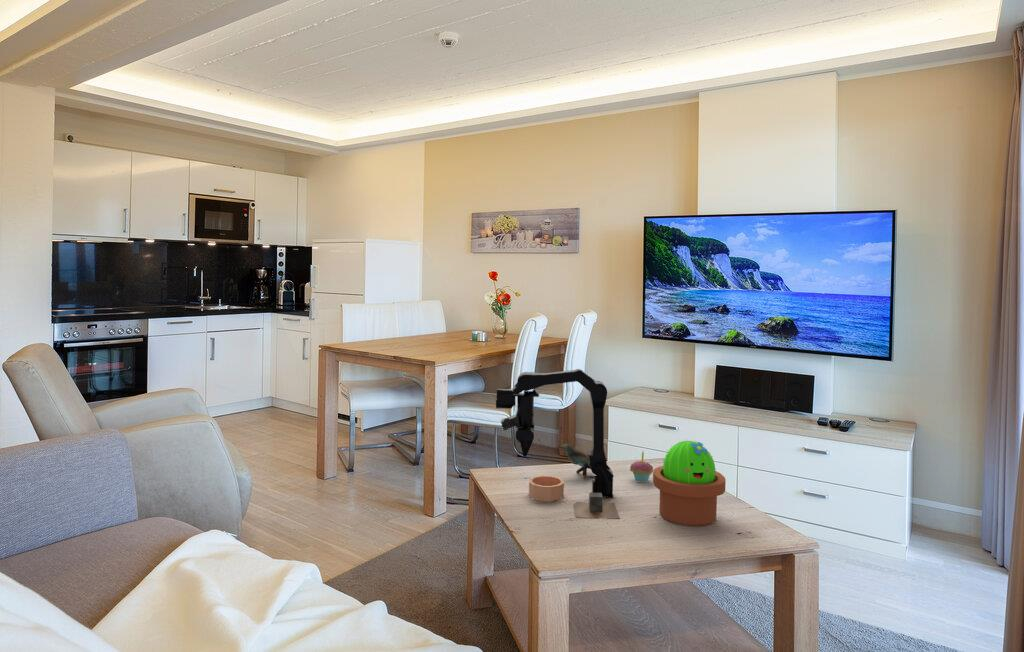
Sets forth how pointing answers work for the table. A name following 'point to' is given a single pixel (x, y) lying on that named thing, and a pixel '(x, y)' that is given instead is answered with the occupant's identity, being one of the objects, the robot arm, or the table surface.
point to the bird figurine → (577, 458)
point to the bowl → (546, 488)
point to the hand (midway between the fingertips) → (525, 452)
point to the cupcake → (641, 470)
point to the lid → (596, 508)
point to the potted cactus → (688, 485)
